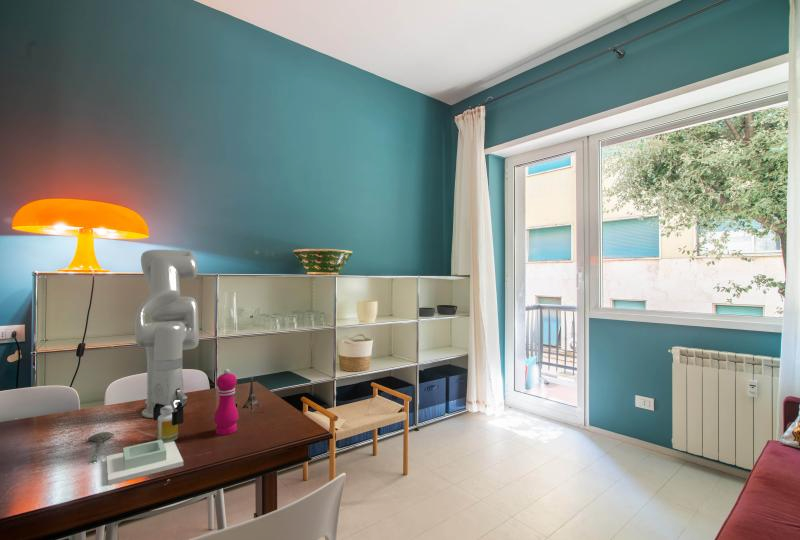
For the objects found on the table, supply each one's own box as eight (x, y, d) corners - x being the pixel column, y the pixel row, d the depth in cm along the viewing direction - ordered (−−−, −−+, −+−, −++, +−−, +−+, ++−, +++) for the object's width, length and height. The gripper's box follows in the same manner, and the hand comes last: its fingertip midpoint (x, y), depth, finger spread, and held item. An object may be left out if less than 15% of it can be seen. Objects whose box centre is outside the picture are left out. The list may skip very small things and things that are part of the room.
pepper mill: (229, 436, 124) (229, 372, 124) (208, 434, 125) (209, 371, 125) (243, 427, 131) (243, 366, 131) (223, 426, 132) (223, 365, 132)
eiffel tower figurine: (235, 405, 156) (235, 370, 156) (262, 401, 160) (262, 368, 160) (236, 417, 142) (236, 380, 142) (266, 413, 146) (266, 377, 146)
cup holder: (108, 485, 95) (108, 469, 95) (106, 460, 108) (106, 446, 108) (183, 465, 105) (183, 451, 105) (174, 445, 117) (174, 432, 117)
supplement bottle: (182, 437, 123) (182, 405, 123) (166, 444, 118) (166, 411, 118) (168, 435, 125) (169, 403, 125) (153, 441, 120) (153, 409, 120)
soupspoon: (116, 436, 126) (90, 442, 123) (115, 426, 127) (89, 431, 123) (107, 462, 108) (76, 469, 104) (106, 449, 108) (75, 456, 104)
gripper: (140, 364, 123) (139, 420, 122) (172, 369, 114) (172, 430, 114) (164, 360, 129) (164, 413, 129) (197, 365, 121) (197, 422, 120)
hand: (168, 421), depth 121 cm, fingers open, 9 cm apart
